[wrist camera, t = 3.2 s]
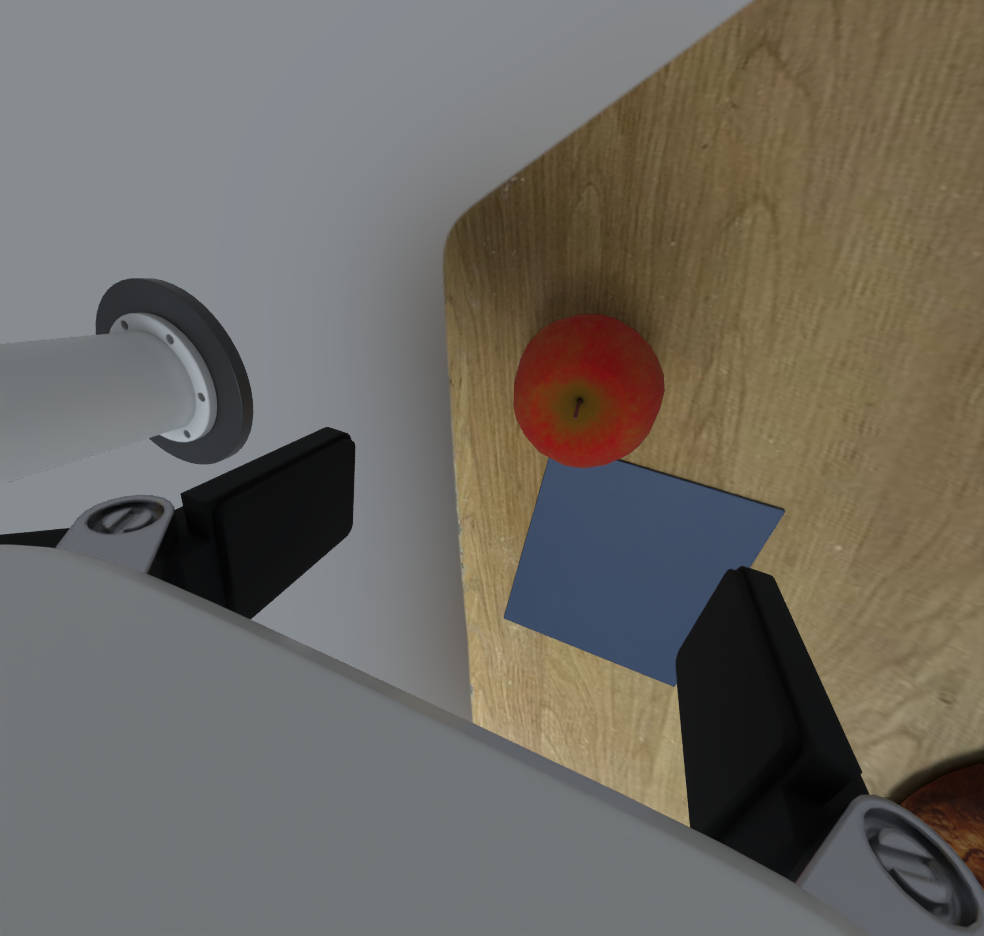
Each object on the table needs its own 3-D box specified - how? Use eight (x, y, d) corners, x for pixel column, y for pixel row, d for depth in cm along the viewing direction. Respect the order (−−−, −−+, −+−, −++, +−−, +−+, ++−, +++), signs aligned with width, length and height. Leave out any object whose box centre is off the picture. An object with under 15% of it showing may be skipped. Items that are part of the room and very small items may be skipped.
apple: (524, 328, 30) (471, 349, 20) (647, 289, 26) (651, 292, 17) (553, 437, 32) (518, 501, 23) (669, 414, 29) (683, 478, 19)
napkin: (504, 616, 42) (503, 618, 41) (554, 440, 32) (553, 441, 32) (674, 684, 38) (674, 687, 38) (784, 509, 29) (785, 511, 29)
